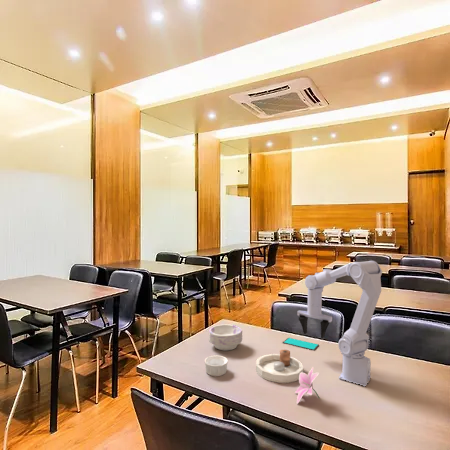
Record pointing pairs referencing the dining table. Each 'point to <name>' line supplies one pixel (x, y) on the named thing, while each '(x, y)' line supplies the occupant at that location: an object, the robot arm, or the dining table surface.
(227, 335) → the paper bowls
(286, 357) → the pepper mill
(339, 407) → the dining table surface
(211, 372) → the ramekin
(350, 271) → the robot arm
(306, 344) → the smartphone
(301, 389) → the lily
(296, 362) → the ring tray
